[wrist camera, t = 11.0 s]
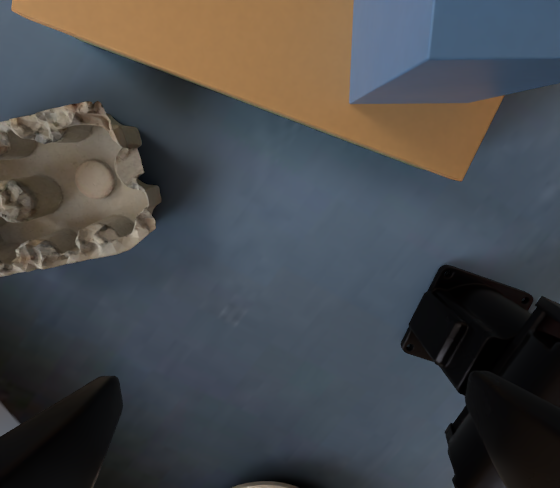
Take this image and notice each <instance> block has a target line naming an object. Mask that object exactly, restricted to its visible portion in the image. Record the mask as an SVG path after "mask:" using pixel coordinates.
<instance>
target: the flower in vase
mask: <svg viewBox="0 0 560 488" xmlns="http://www.w3.org/2000/svg"><path fill="white" fill-rule="evenodd" d="M232 488H299V487H296V486H293V485H290V484H286V483H281V482H274V481H258V482H250V483H245V484H241V485H237V486H235V487H232Z"/></svg>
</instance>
